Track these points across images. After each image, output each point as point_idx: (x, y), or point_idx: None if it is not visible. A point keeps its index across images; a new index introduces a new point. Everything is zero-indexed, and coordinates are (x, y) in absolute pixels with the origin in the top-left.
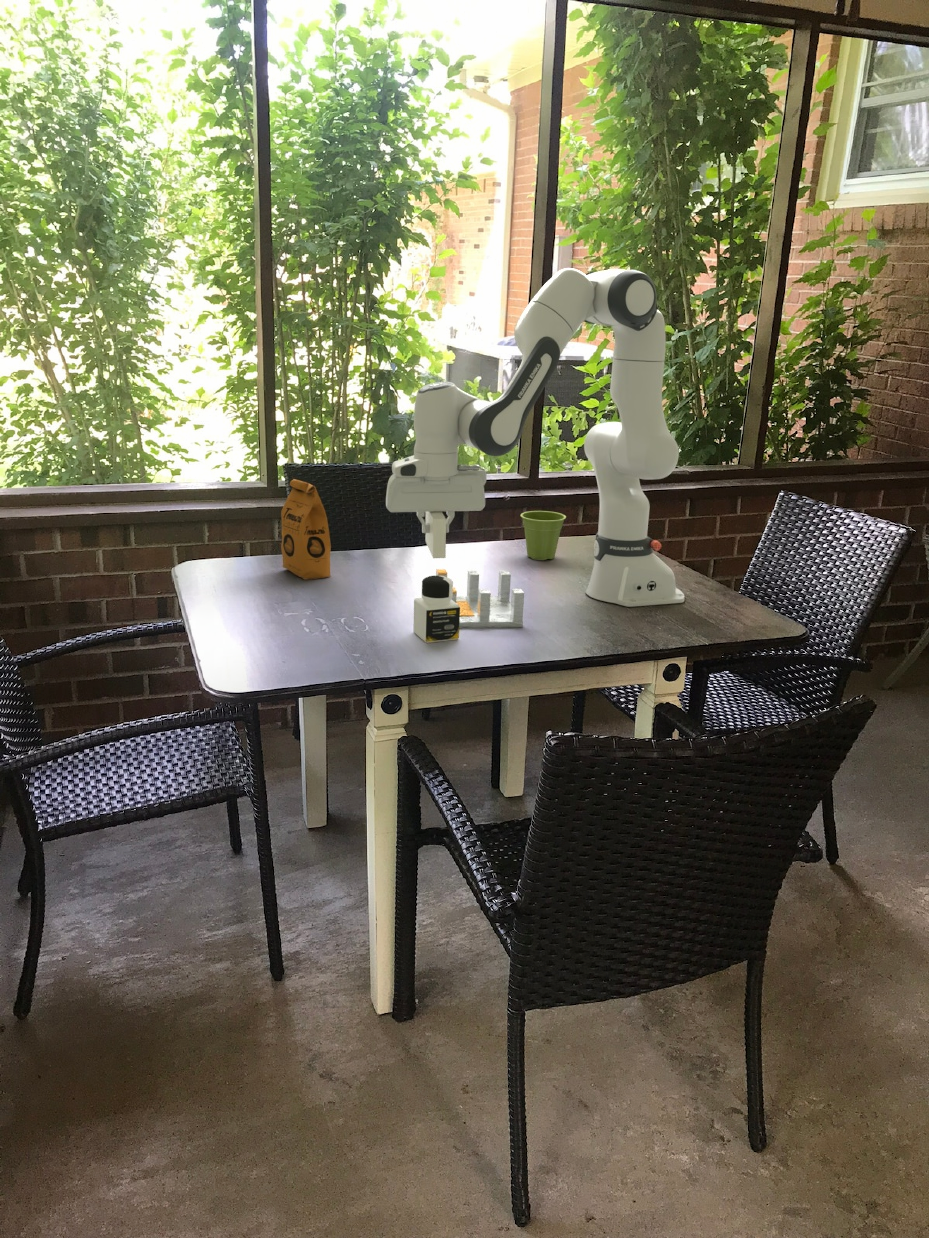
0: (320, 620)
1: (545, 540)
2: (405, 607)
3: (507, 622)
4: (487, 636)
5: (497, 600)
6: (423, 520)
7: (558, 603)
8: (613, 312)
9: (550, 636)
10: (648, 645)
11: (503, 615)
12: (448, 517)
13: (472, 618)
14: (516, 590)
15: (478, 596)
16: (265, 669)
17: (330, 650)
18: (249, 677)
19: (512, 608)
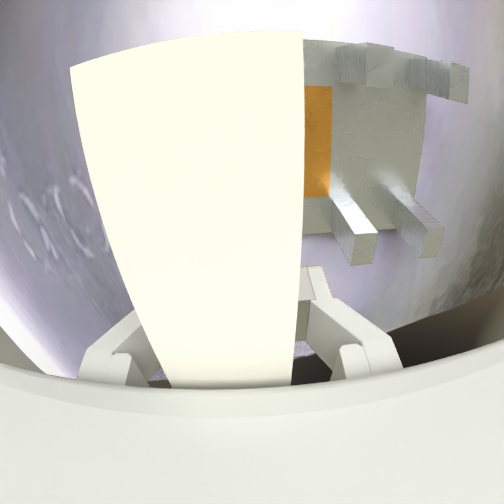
0: (28, 205)
1: None
2: None
3: (381, 228)
4: (328, 267)
5: (403, 84)
6: (154, 371)
7: (495, 96)
8: None
9: (421, 262)
10: (492, 282)
11: (387, 192)
12: (340, 347)
13: (320, 210)
14: (431, 240)
15: (348, 228)
16: (59, 356)
17: (90, 321)
18: (58, 367)
19: (405, 225)
